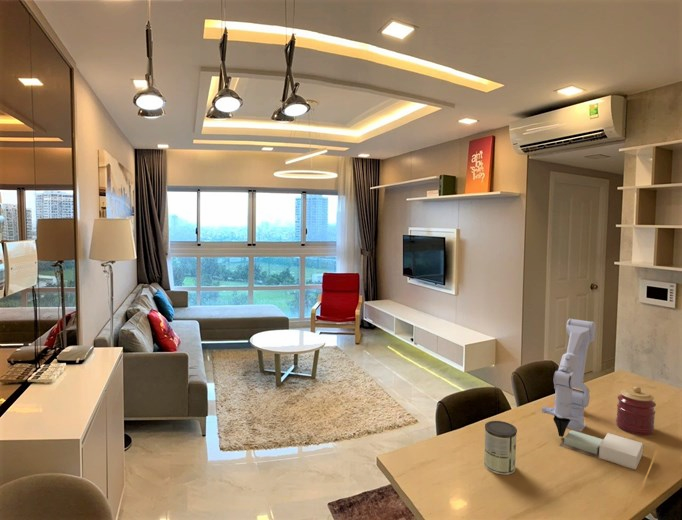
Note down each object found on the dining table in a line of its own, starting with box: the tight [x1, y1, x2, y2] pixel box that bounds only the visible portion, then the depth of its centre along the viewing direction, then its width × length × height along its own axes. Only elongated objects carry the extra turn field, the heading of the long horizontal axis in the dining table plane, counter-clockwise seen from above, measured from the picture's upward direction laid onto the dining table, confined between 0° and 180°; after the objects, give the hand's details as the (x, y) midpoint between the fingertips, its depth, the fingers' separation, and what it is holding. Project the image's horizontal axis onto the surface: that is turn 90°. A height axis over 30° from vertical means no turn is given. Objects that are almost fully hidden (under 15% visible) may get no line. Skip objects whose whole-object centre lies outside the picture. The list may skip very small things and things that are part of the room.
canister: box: [615, 385, 657, 436], centre depth 177 cm, size 13×13×18 cm
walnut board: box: [558, 439, 643, 472], centre depth 160 cm, size 24×14×1 cm, turn 47°
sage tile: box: [563, 429, 604, 454], centre depth 164 cm, size 11×9×2 cm
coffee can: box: [483, 420, 518, 476], centre depth 150 cm, size 10×10×14 cm
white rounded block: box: [599, 432, 644, 471], centre depth 156 cm, size 11×12×5 cm
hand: (561, 435), depth 169 cm, fingers closed
